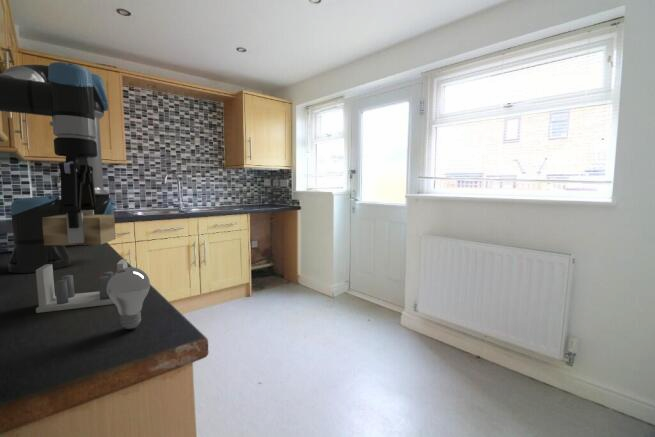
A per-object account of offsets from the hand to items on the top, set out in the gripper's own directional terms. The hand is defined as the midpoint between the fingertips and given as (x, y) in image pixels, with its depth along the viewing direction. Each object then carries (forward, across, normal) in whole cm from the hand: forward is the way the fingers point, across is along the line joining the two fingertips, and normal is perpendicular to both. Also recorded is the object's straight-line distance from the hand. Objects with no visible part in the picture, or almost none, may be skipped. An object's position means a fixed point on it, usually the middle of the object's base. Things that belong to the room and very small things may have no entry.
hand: (82, 239), depth 73 cm
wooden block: (+1, 0, 0) cm, 1 cm away
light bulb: (+15, +20, +12) cm, 28 cm away
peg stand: (+15, 0, 0) cm, 15 cm away
